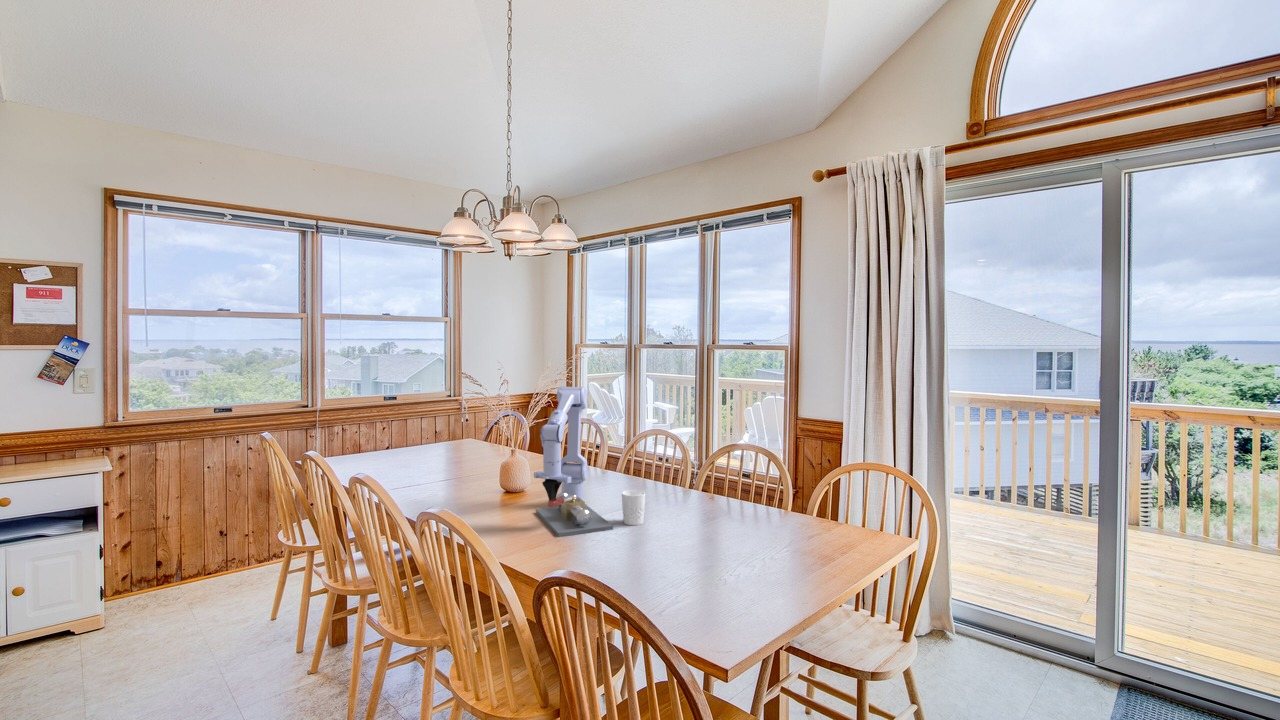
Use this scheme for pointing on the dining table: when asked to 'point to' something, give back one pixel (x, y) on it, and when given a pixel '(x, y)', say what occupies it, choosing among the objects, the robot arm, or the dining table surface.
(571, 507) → the valve body
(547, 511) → the mounting board
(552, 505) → the valve lever
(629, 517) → the white cup
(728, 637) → the dining table surface
